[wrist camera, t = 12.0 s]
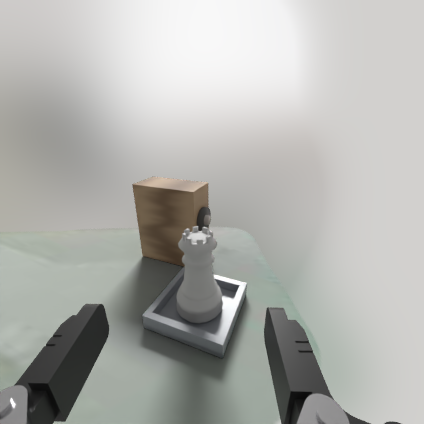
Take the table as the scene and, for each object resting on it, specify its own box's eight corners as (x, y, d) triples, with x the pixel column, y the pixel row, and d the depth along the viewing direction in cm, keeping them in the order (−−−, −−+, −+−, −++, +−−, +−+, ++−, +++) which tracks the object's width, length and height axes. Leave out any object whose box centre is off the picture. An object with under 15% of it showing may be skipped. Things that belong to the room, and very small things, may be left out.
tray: (144, 327, 20) (142, 315, 19) (184, 277, 26) (183, 266, 26) (222, 358, 17) (222, 345, 17) (245, 294, 24) (246, 283, 23)
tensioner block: (142, 256, 30) (132, 184, 27) (159, 241, 34) (152, 176, 30) (202, 271, 27) (201, 192, 23) (214, 254, 31) (215, 183, 27)
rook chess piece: (221, 290, 24) (223, 221, 21) (224, 326, 20) (226, 247, 16) (179, 290, 24) (174, 221, 21) (172, 327, 20) (165, 247, 16)
